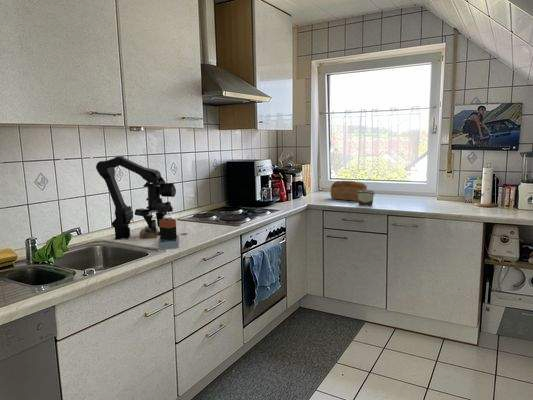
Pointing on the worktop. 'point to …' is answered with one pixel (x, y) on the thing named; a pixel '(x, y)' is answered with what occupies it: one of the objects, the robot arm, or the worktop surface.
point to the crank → (153, 228)
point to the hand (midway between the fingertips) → (154, 227)
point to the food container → (365, 197)
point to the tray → (168, 243)
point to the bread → (346, 190)
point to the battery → (167, 228)
